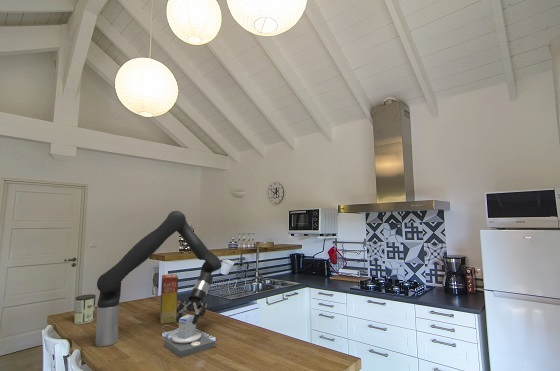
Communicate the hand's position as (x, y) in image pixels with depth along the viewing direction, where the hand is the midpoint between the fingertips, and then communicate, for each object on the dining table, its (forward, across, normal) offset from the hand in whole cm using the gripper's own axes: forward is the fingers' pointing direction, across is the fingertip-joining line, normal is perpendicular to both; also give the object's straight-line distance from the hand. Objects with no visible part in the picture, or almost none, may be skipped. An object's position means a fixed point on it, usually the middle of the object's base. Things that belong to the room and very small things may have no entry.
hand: (185, 322), depth 145 cm
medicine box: (+4, 0, +6) cm, 7 cm away
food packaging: (-14, -33, +29) cm, 47 cm away
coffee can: (-3, -79, +18) cm, 81 cm away
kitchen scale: (+7, +2, +7) cm, 10 cm away
